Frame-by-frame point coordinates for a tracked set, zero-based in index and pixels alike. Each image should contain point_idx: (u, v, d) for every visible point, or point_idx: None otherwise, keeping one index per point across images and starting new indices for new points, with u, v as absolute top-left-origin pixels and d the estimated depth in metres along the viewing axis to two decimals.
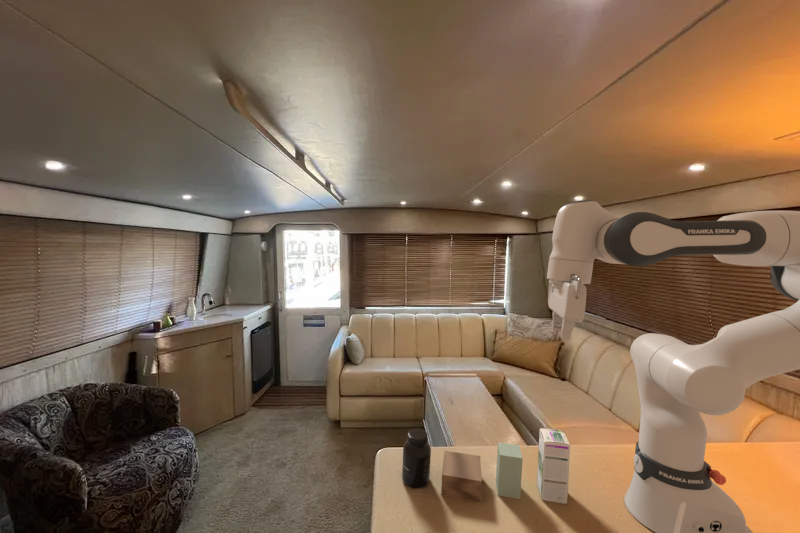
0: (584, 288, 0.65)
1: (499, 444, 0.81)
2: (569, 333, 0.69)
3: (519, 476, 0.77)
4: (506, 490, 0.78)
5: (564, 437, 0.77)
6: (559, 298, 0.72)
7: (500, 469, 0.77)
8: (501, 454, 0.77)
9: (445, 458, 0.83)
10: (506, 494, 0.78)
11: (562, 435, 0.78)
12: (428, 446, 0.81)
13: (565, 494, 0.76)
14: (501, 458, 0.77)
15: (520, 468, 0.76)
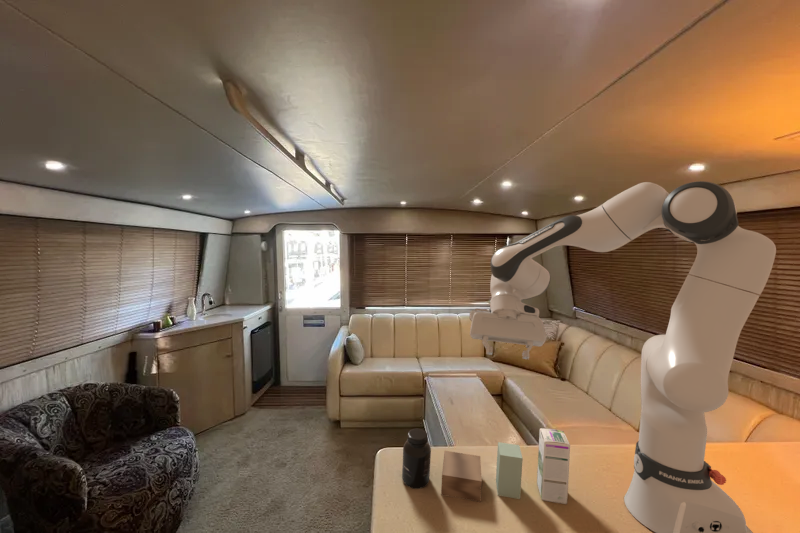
0: (475, 313, 0.96)
1: (499, 444, 0.81)
2: (486, 347, 0.90)
3: (519, 476, 0.77)
4: (506, 490, 0.78)
5: (564, 437, 0.77)
6: None
7: (500, 469, 0.77)
8: (501, 454, 0.77)
9: (445, 458, 0.83)
10: (506, 494, 0.78)
11: (562, 435, 0.78)
12: (428, 446, 0.81)
13: (565, 494, 0.76)
14: (501, 458, 0.77)
15: (520, 468, 0.76)
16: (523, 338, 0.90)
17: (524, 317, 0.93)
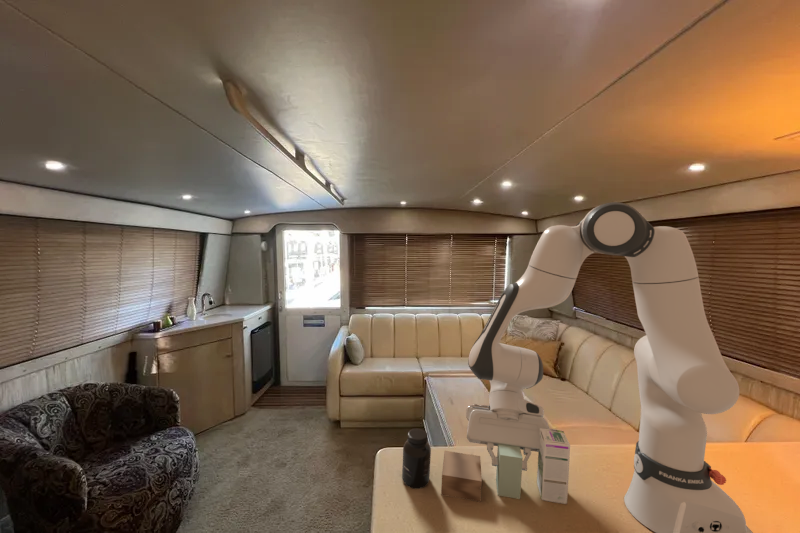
0: (472, 411, 0.87)
1: None
2: (492, 457, 0.80)
3: (519, 476, 0.77)
4: (506, 490, 0.77)
5: (564, 437, 0.77)
6: None
7: (500, 469, 0.77)
8: (501, 454, 0.77)
9: (445, 458, 0.83)
10: (506, 494, 0.78)
11: (562, 435, 0.78)
12: (428, 446, 0.81)
13: (565, 494, 0.76)
14: (501, 458, 0.77)
15: (520, 468, 0.76)
16: (526, 446, 0.80)
17: (526, 419, 0.83)
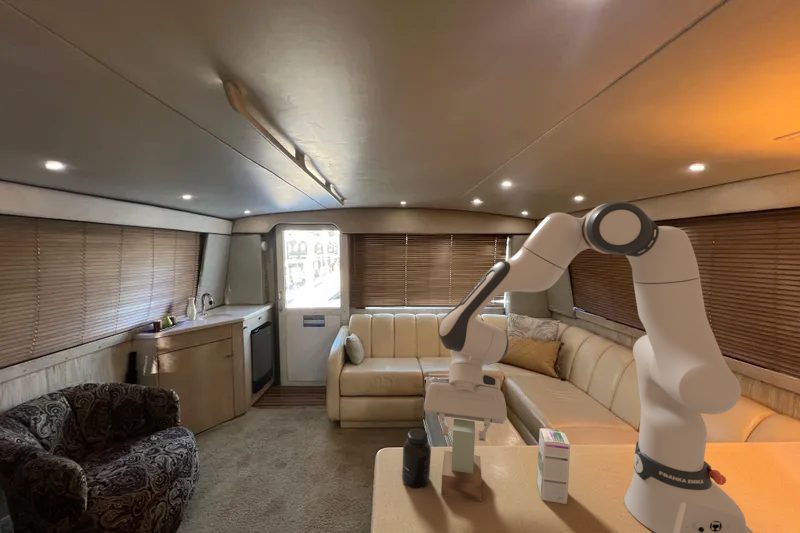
0: (430, 384, 0.87)
1: (455, 420, 0.82)
2: (442, 427, 0.81)
3: (472, 451, 0.77)
4: (459, 465, 0.78)
5: (564, 437, 0.77)
6: None
7: (453, 444, 0.78)
8: (454, 429, 0.78)
9: (445, 458, 0.83)
10: (459, 469, 0.78)
11: (562, 435, 0.78)
12: (428, 446, 0.81)
13: (565, 494, 0.76)
14: (454, 433, 0.78)
15: (473, 443, 0.77)
16: (481, 416, 0.81)
17: (483, 390, 0.84)
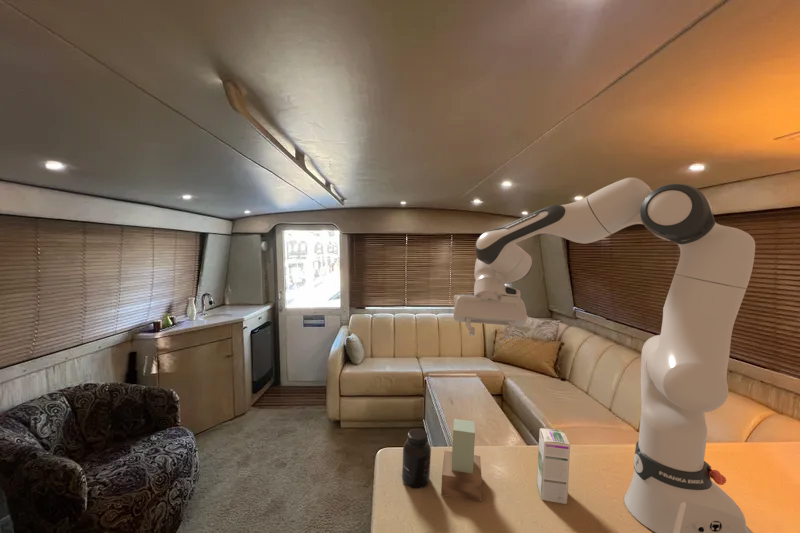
0: None
1: (455, 420, 0.82)
2: (469, 328, 0.93)
3: (472, 451, 0.77)
4: (459, 465, 0.78)
5: (564, 437, 0.77)
6: None
7: (453, 444, 0.78)
8: (454, 429, 0.78)
9: (445, 458, 0.83)
10: (459, 469, 0.78)
11: (562, 435, 0.78)
12: (428, 446, 0.81)
13: (565, 494, 0.76)
14: (454, 433, 0.78)
15: (473, 443, 0.77)
16: (504, 318, 0.92)
17: (505, 299, 0.95)
